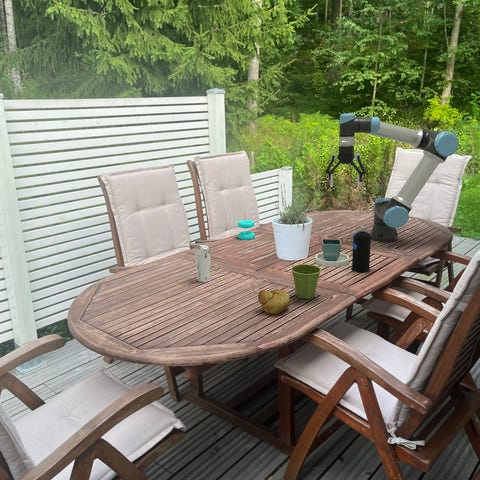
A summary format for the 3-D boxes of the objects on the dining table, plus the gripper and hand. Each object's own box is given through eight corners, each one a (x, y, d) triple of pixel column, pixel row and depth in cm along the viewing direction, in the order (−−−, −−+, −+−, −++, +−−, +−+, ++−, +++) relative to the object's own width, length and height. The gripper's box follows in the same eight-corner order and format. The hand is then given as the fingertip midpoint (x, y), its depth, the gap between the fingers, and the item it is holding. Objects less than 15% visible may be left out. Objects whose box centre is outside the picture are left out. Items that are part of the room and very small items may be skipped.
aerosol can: (371, 267, 202) (373, 225, 196) (368, 273, 195) (370, 229, 189) (353, 265, 205) (355, 224, 200) (349, 271, 198) (351, 228, 193)
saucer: (340, 255, 221) (341, 250, 220) (354, 265, 206) (354, 260, 205) (310, 257, 218) (310, 253, 218) (322, 268, 203) (322, 263, 203)
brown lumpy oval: (278, 300, 169) (278, 280, 167) (298, 307, 163) (298, 287, 161) (255, 310, 161) (255, 290, 159) (275, 318, 154) (275, 297, 152)
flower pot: (339, 256, 216) (340, 239, 213) (340, 262, 208) (341, 244, 205) (321, 256, 217) (321, 238, 215) (321, 262, 209) (322, 244, 206)
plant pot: (313, 304, 165) (314, 276, 162) (285, 298, 171) (285, 271, 168) (325, 293, 174) (326, 266, 171) (298, 288, 180) (298, 262, 177)
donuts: (258, 221, 254) (245, 224, 247) (258, 237, 256) (246, 241, 250) (246, 218, 261) (233, 221, 254) (246, 234, 263) (234, 238, 257)
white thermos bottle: (214, 277, 195) (212, 245, 191) (208, 283, 188) (206, 249, 184) (200, 276, 197) (198, 244, 193) (193, 281, 191) (191, 248, 187)
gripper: (320, 145, 223) (319, 187, 228) (371, 145, 213) (368, 189, 219) (323, 144, 229) (322, 185, 235) (373, 144, 220) (370, 187, 225)
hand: (344, 187), depth 227 cm, fingers open, 13 cm apart
